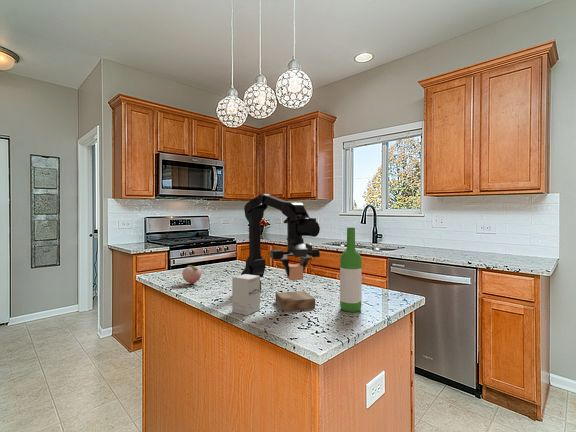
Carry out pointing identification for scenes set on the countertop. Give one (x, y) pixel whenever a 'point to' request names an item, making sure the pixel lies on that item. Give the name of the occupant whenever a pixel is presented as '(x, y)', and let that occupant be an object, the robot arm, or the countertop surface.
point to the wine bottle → (350, 276)
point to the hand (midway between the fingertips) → (294, 276)
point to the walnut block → (295, 300)
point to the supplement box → (245, 294)
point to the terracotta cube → (295, 272)
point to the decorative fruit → (191, 274)
